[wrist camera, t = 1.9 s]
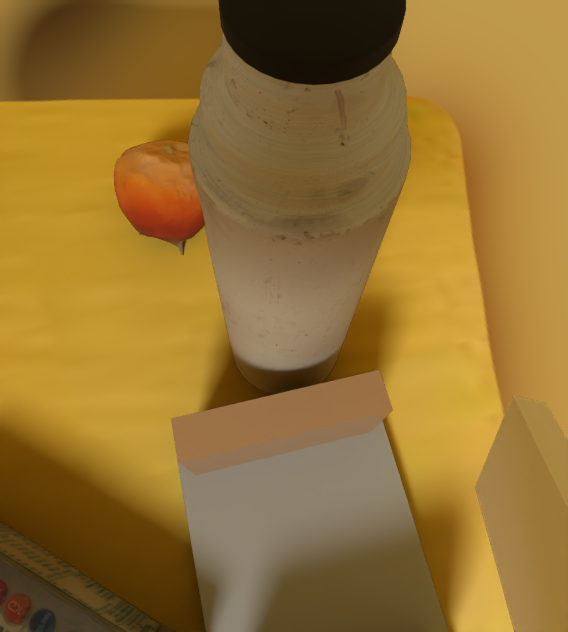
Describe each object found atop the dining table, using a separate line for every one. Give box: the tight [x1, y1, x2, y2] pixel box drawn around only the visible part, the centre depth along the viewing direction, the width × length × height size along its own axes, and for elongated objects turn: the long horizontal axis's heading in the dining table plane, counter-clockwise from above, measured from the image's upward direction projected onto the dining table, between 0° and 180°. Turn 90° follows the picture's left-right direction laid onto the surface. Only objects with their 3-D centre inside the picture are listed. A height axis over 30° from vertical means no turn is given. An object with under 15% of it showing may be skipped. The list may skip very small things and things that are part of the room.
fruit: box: [114, 140, 205, 255], centre depth 41 cm, size 8×8×8 cm
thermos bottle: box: [188, 0, 411, 394], centre depth 27 cm, size 8×8×28 cm
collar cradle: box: [171, 370, 449, 632], centre depth 30 cm, size 17×14×8 cm
